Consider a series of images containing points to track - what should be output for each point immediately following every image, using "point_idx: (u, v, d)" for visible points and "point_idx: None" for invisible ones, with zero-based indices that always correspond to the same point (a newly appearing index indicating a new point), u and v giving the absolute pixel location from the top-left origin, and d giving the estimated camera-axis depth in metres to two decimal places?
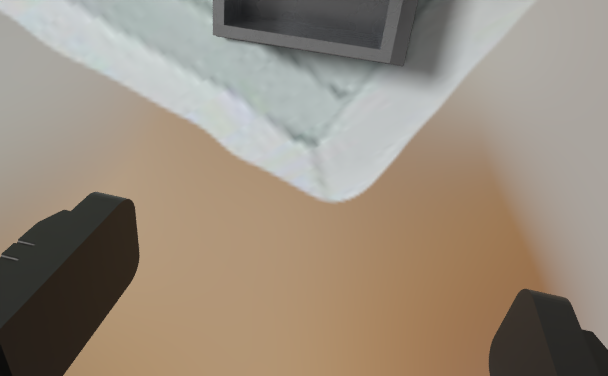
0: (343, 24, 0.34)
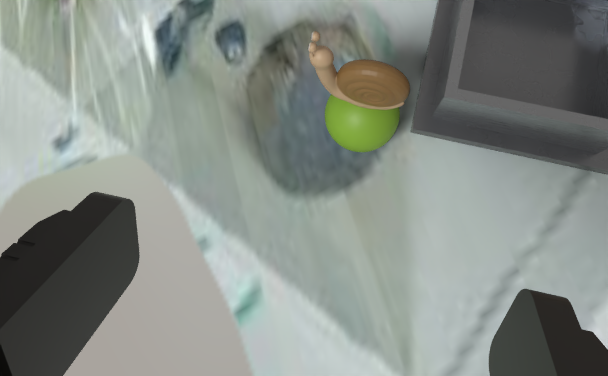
0: (596, 44, 0.36)
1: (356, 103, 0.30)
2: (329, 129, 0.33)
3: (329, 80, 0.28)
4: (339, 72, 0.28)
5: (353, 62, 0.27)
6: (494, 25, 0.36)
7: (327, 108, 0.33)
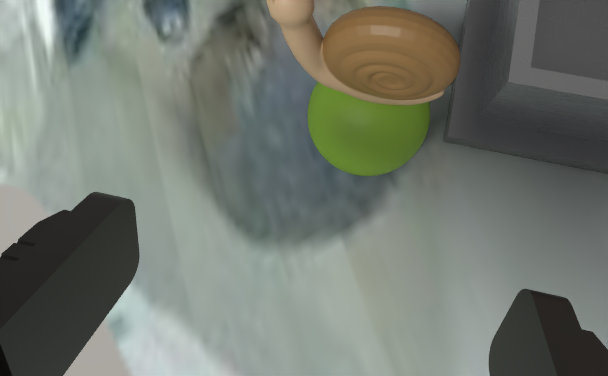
0: None
1: (359, 95, 0.17)
2: (315, 140, 0.20)
3: (308, 51, 0.15)
4: (327, 35, 0.15)
5: (353, 13, 0.14)
6: None
7: (310, 105, 0.20)
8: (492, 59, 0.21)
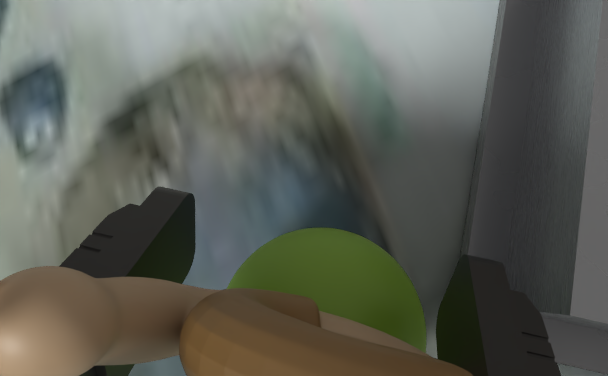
0: None
1: None
2: None
3: (146, 360, 0.07)
4: None
5: (220, 338, 0.05)
6: None
7: None
8: (529, 221, 0.13)
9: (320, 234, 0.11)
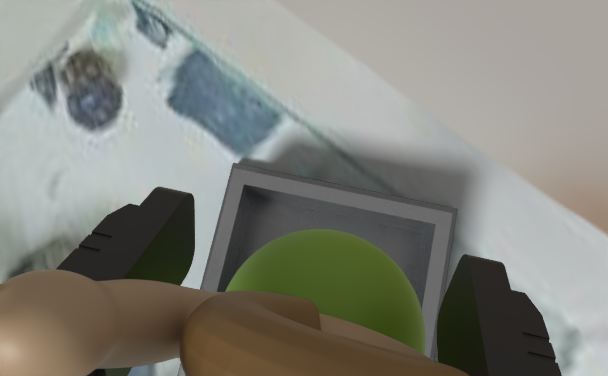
0: None
1: None
2: None
3: (146, 363, 0.07)
4: None
5: (221, 342, 0.05)
6: None
7: None
8: None
9: (320, 236, 0.11)
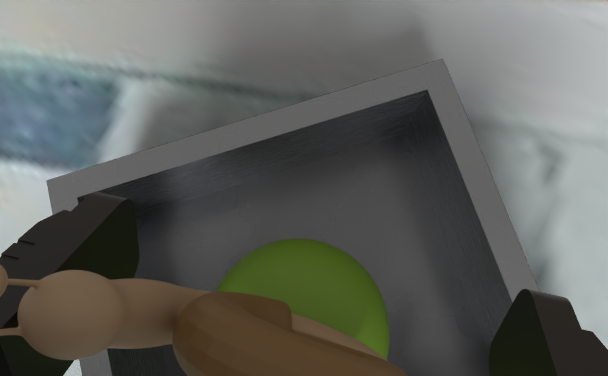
0: (423, 209, 0.17)
1: None
2: None
3: (145, 346, 0.08)
4: (173, 331, 0.08)
5: (204, 332, 0.07)
6: (219, 272, 0.17)
7: None
8: None
9: (301, 245, 0.13)
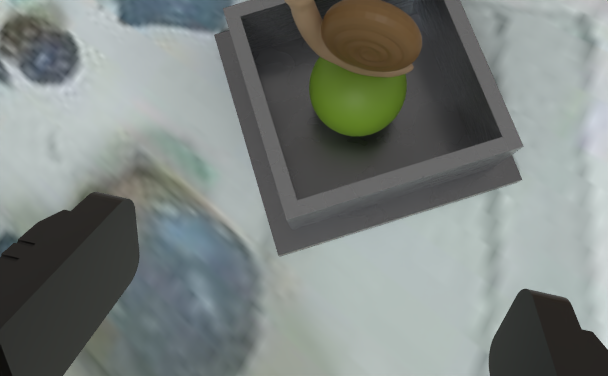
0: (424, 45, 0.29)
1: (348, 67, 0.22)
2: (313, 104, 0.25)
3: (310, 29, 0.20)
4: (324, 17, 0.20)
5: (343, 1, 0.19)
6: (305, 81, 0.29)
7: (312, 76, 0.25)
8: None
9: None
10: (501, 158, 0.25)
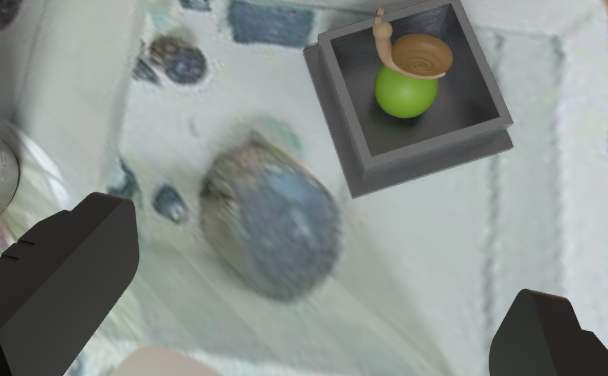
0: None
1: (405, 73, 0.36)
2: (378, 97, 0.39)
3: (386, 51, 0.34)
4: (395, 44, 0.33)
5: (408, 36, 0.32)
6: (366, 81, 0.42)
7: (377, 78, 0.38)
8: (353, 150, 0.40)
9: None
10: (499, 131, 0.38)
